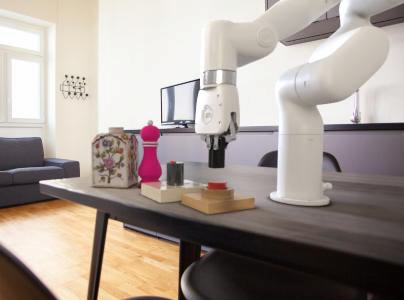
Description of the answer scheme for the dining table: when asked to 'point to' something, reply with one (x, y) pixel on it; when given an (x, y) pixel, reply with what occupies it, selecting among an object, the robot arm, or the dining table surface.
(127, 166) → the decorative jar
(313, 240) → the dining table surface
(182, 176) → the dark grey block
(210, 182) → the button
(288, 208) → the dining table surface
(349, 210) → the dining table surface
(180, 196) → the panel
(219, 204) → the button block
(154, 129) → the pepper mill
